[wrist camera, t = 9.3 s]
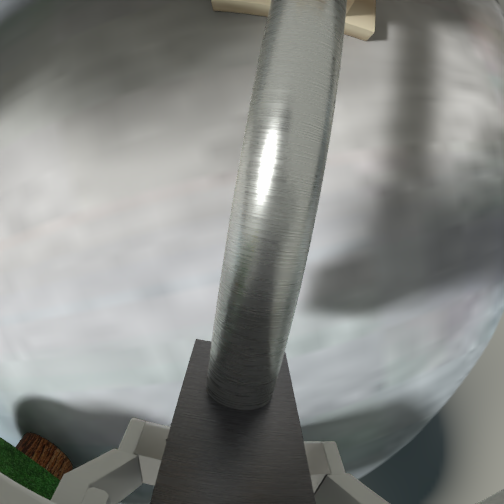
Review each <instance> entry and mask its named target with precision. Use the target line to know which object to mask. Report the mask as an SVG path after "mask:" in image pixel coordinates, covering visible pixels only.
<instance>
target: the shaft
mask: <svg viewBox="0 0 504 504" xmlns="http://www.w3.org/2000/svg"><path fill="white" fill-rule="evenodd" d="M346 7H347V0H271V4H270V9H269V13H268V18H267V23H266V27H265V32H264V37H263V42H262V46H261V51H260V56H259V61H258V66H257V71H256V76H255V81H254V86H253V91H252V97H251V102H250V107H249V112H248V118H247V123H246V128H245V134H244V139H243V145H242V151H241V156H240V162H239V168H238V173H237V179H236V185H235V191H234V197H233V203H232V209H231V215H230V221H229V227H228V233H227V240H226V246H225V252H224V259H223V265H222V272H221V279H220V285H219V292H218V299H217V306H216V313H215V320H214V327H213V335H212V342H210V341H204V340H199V339H196V341H195V344H194V347H193V351H192V354H191V357H190V361H189V364H188V368H187V371H186V374H185V378H184V381H183V385H182V388H181V392H180V395H179V399H178V402H177V406H176V409H175V413H174V416H173V420H172V423H171V427H170V431H169V434H168V438H167V441H166V445H165V449H164V453H163V456H162V460H161V464H160V468H159V471H158V475H157V479H156V483H155V487H154V491H153V495H152V498H151V502H150V504H316V502H315V497H314V492H313V487H312V481H311V476H310V471H309V466H308V461H307V456H306V451H305V446H304V441H303V436H302V431H301V426H300V421H299V416H298V411H297V407H296V402H295V397H294V392H293V387H292V382H291V377H290V373H289V368H288V363H287V358H286V354H285V348H286V344H287V340H288V337H289V333H290V329H291V325H292V321H293V317H294V313H295V309H296V304H297V300H298V296H299V292H300V288H301V283H302V279H303V274H304V270H305V266H306V261H307V256H308V252H309V247H310V243H311V238H312V233H313V228H314V223H315V218H316V213H317V208H318V203H319V198H320V192H321V187H322V182H323V176H324V171H325V165H326V159H327V153H328V147H329V141H330V135H331V129H332V122H333V116H334V109H335V102H336V95H337V88H338V80H339V72H340V64H341V56H342V47H343V38H344V28H345V18H346Z"/></svg>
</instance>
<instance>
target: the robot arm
mask: <svg viewBox="0 0 504 504" xmlns="http://www.w3.org/2000/svg"><path fill="white" fill-rule="evenodd" d="M169 431H170V427H168V426H164V425H160V424H156V423H152V422H148V421H144V420H140V419H137V418H132V419H131V420H130V422H129V424H128V427H127V429H126V431H125V434H124V436H123V438H122V441H121V443H120V445H119V448H118V449H112V450H110V451H108V452H106V453H104V454H103V455H101V456H99V457H97V458H95V459H93V460H91V461H89V462H87V463H85V464H83V465H81V466H79V467H77V468H75V469H73V470H71V471H69V472H67V473H65V474H64V475H63V477H62V479H61V481H60V483H59V485H58V487H57V489H56V491H55V493H54V495H53V497H52V499H51V501H50V500H48V499H46V498H44V497H42V496H40V495H38V494H36V493H35V492H33V491H31V490H29V489H27V488H25V487H24V486H22V485H20V484H18V483H17V482H15V481H13V480H12V479H10V478H8V477H7V476H5V475H4V474H2V473H1V472H0V504H117V503H119V502H120V501H121V500H123V499H124V498H125V497H127V496H128V495H129V494H131V493H132V492H133V491H134V490H136V489H137V488H138V487H140V486H141V485H142V483H145V484H150V485H154V486H155V483H156V479H157V475H158V471H159V468H160V464H161V460H162V456H163V453H164V449H165V445H166V441H167V438H168V434H169ZM304 446H305V451H306V456H307V461H308V466H309V471H310V476H311V481H312V487H313V492H314V497H315V502H316V504H390V503H388V502H387V501H385V500H384V499H383V498H381V497H380V496H378V495H377V494H376V493H374V492H373V491H372V490H370V489H369V488H368V487H366V486H365V485H364V484H362V483H361V482H360V481H359V480H357V479H356V478H355V477H353V476H352V475H351V474H350V473H345V470H344V466H343V463H342V460H341V457H340V454H339V451H338V448H337V444H336V443H335V441H321V442H320V441H304ZM476 504H504V489H502V490H501V491H499V492H497V493H495V494H493V495H491V496H490V497H488V498H486V499H484V500H482V501H480V502H478V503H476Z"/></svg>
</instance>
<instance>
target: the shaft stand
mask: <svg viewBox="0 0 504 504" xmlns="http://www.w3.org/2000/svg"><path fill="white" fill-rule="evenodd" d="M211 2H212V7H213V11H224V12H235V13H244V14H252V15H259V16H266V17H268V13H269V9H270V4H271V0H211ZM375 9H376V0H347V7H346V18H345V28H344V34H345V35H349V36H352V37H355V38H358V39H361V40H364V41H367V40H368V39H369V38H370V37H371V36H372V35H373V34H374V32H375Z"/></svg>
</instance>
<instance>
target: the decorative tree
mask: <svg viewBox="0 0 504 504" xmlns="http://www.w3.org/2000/svg"><path fill="white" fill-rule="evenodd" d="M72 469H73V466H72V463H71V462H70V460H69V459H68V457H67V456H66V455H65V454H64V453H63V452H62V451H61V450H60V449H59V448H57V447H56V446H55V445H54V444H52V443H51V442H49V441H48V440H46V439H45V438H43V437H41V436H39V435H37V434H34V433H26V434H25V435H24V436H23V438H22V439H21V440H20V442H19V443H18V445H17V446H16V447H14V446H12V445H11V444H9V443H8V442H6V441H5V440H3V439H2V438H0V472H1V473H2V474H4V475H5V476H7V477H8V478H10V479H12V480H13V481H15V482H17V483H18V484H20V485H22V486H24V487H25V488H27V489H29V490H31V491H33V492H35V493H36V494H38V495H40V496H42V497H44V498H46V499H48V500H50V501H51V499H52V497H53V495H54V493H55V491H56V489H57V487H58V485H59V483H60V481H61V479H62V477H63V475H64V474H65V473H67V472H69V471H71V470H72Z"/></svg>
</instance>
